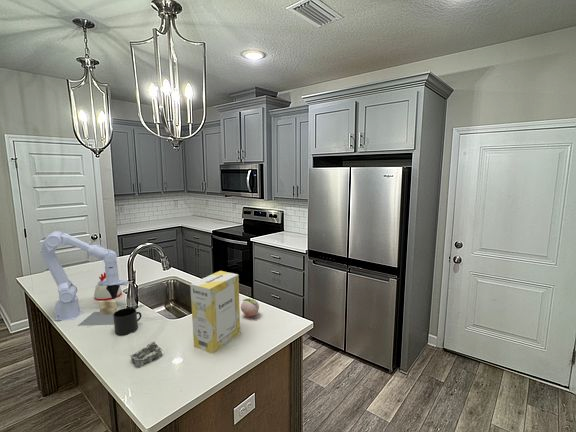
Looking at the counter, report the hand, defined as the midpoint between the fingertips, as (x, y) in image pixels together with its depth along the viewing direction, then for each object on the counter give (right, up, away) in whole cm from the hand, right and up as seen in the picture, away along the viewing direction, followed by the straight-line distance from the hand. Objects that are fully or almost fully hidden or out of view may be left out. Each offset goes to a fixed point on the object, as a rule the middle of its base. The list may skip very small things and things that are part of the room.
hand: (114, 298), depth 163 cm
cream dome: (-13, -4, +16) cm, 21 cm away
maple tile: (0, -7, -6) cm, 9 cm away
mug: (+18, -10, -20) cm, 28 cm away
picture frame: (+1, -8, -10) cm, 12 cm away
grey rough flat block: (+36, -13, -41) cm, 56 cm away
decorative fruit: (+74, -7, -8) cm, 74 cm away
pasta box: (+62, -11, -28) cm, 69 cm away
